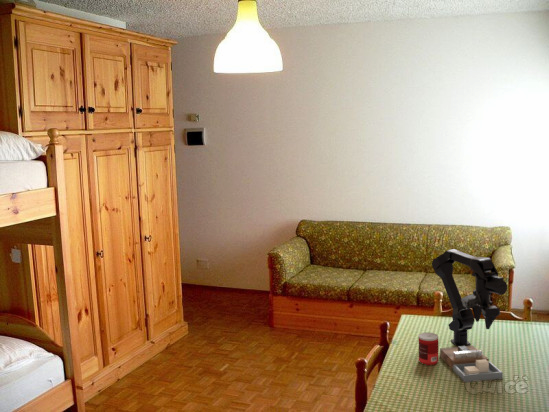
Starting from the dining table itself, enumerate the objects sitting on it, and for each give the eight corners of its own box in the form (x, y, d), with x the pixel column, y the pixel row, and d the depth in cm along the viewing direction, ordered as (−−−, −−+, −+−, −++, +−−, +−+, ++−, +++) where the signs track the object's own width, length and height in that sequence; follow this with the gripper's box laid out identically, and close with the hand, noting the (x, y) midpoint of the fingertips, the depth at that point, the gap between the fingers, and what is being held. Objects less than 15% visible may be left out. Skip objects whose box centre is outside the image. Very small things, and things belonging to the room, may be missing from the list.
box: (452, 370, 227) (453, 364, 226) (489, 367, 228) (489, 361, 228) (463, 382, 217) (464, 375, 217) (502, 378, 219) (502, 372, 218)
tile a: (469, 371, 219) (468, 377, 219) (479, 370, 219) (479, 376, 220) (464, 366, 223) (464, 373, 223) (474, 366, 223) (474, 372, 224)
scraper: (455, 359, 229) (448, 352, 235) (482, 357, 230) (474, 350, 237) (455, 353, 228) (448, 347, 235) (482, 351, 229) (474, 344, 236)
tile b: (475, 360, 225) (478, 362, 223) (485, 359, 225) (488, 361, 223) (475, 369, 226) (478, 372, 223) (485, 369, 226) (488, 371, 224)
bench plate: (440, 356, 241) (440, 348, 240) (472, 353, 242) (472, 345, 242) (454, 370, 227) (454, 362, 226) (488, 367, 228) (488, 359, 228)
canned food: (439, 359, 238) (439, 333, 236) (436, 367, 231) (436, 340, 229) (420, 356, 241) (420, 331, 240) (416, 364, 234) (416, 338, 232)
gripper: (454, 283, 247) (454, 319, 249) (474, 296, 228) (473, 334, 231) (479, 282, 248) (479, 317, 250) (501, 294, 230) (500, 332, 232)
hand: (482, 325), depth 241 cm, fingers open, 9 cm apart
